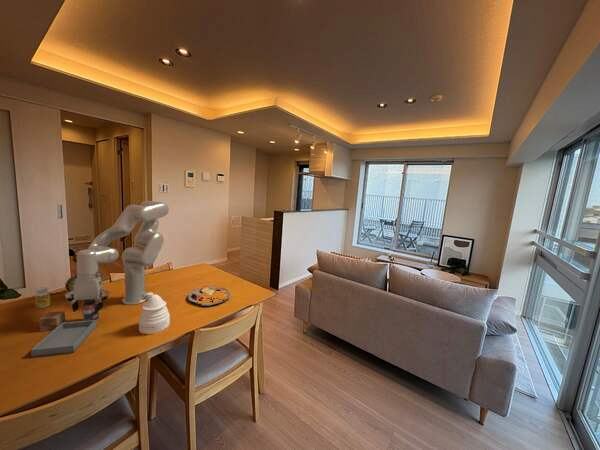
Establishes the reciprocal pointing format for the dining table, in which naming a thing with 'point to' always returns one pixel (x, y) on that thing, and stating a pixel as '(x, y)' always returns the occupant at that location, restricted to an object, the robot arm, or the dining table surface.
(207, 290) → the food plate
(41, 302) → the supplement bottle
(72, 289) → the alarm clock
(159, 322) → the honey pot
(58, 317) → the walnut block
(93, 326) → the tray
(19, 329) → the dining table surface
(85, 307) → the supplement bottle
